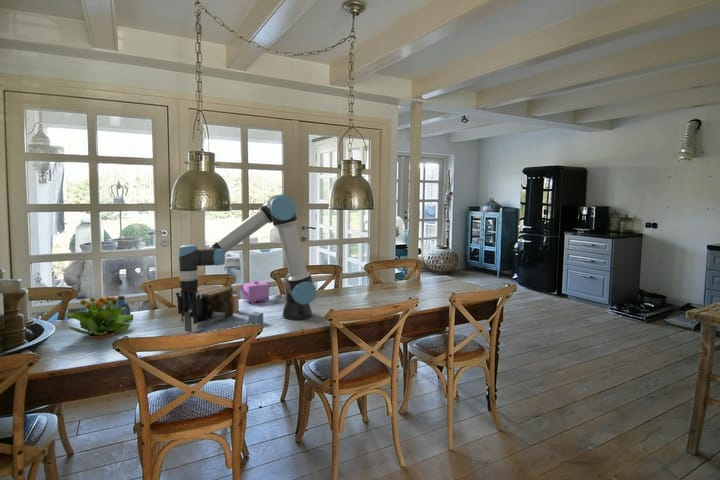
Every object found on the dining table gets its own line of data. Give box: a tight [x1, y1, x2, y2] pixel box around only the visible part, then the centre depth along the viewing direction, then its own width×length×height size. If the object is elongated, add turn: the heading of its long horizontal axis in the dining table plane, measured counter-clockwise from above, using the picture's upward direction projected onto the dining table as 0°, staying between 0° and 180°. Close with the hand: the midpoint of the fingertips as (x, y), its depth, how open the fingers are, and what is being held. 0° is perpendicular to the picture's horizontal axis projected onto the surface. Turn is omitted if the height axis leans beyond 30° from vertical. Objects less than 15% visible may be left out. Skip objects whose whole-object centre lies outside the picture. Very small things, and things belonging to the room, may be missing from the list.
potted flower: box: [64, 296, 134, 340], centre depth 185 cm, size 25×24×18 cm
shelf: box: [180, 284, 234, 322], centre depth 214 cm, size 18×18×15 cm
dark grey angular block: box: [184, 309, 226, 333], centre depth 201 cm, size 13×24×9 cm, turn 158°
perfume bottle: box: [114, 295, 131, 315], centre depth 210 cm, size 6×6×12 cm
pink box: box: [236, 280, 271, 305], centre depth 248 cm, size 20×10×12 cm, turn 124°
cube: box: [248, 311, 264, 325], centre depth 207 cm, size 5×5×5 cm
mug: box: [189, 300, 214, 323], centre depth 210 cm, size 8×12×10 cm
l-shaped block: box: [233, 294, 240, 313], centre depth 229 cm, size 16×4×9 cm, turn 71°
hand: (190, 329), depth 191 cm, fingers closed on dark grey angular block, 4 cm apart
